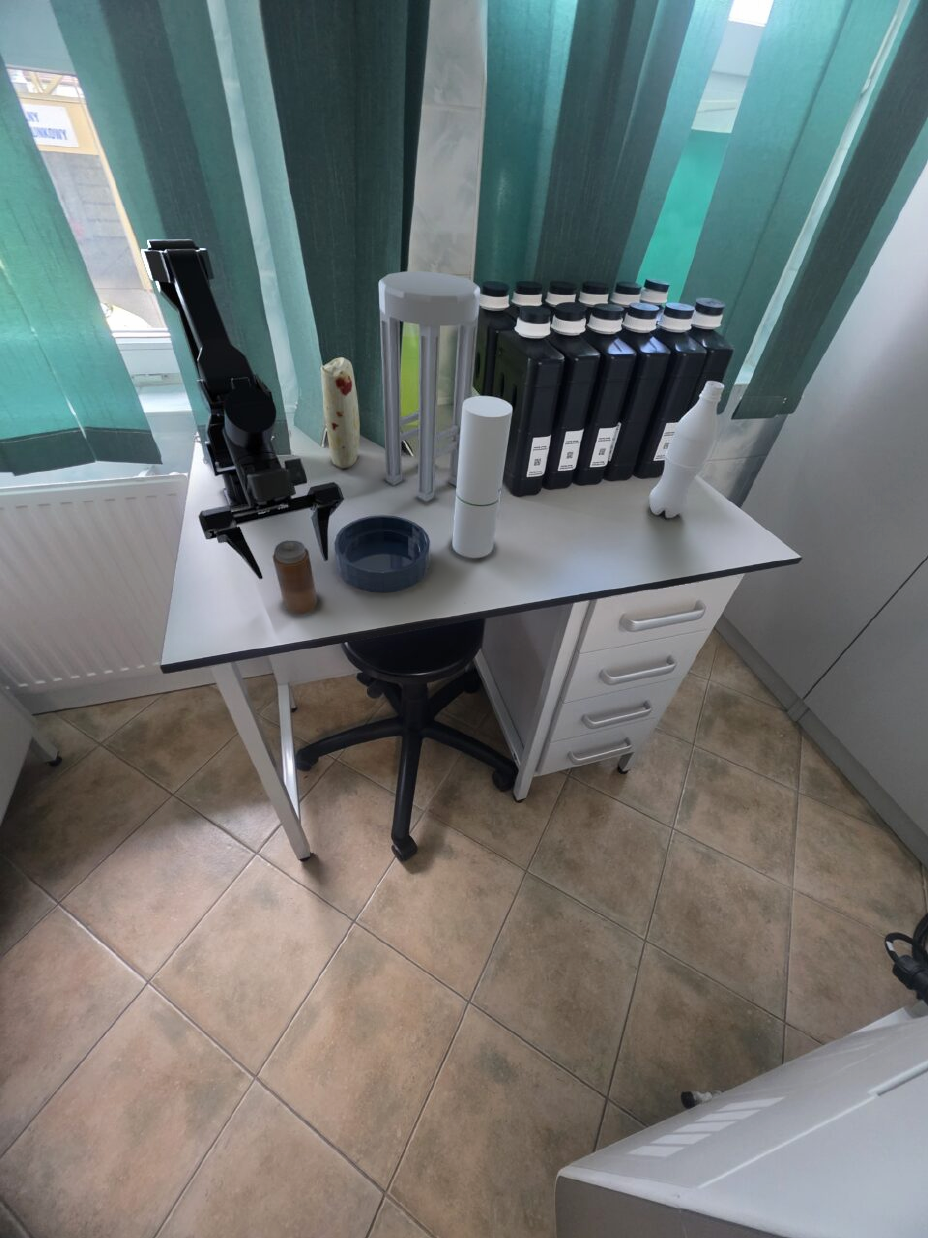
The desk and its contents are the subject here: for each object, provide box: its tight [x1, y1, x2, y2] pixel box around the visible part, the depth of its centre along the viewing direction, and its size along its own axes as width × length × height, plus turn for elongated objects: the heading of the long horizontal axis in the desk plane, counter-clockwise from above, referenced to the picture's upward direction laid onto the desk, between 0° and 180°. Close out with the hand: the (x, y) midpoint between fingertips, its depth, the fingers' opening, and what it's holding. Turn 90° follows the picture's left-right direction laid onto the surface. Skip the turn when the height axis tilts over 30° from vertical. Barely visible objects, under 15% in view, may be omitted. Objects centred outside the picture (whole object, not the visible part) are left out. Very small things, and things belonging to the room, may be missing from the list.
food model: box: [319, 356, 361, 469], centre depth 100 cm, size 10×7×20 cm
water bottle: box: [648, 380, 725, 519], centre depth 94 cm, size 7×7×25 cm
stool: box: [378, 270, 481, 502], centre depth 92 cm, size 16×16×35 cm
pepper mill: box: [272, 539, 318, 614], centre depth 72 cm, size 5×5×12 cm
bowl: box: [333, 514, 431, 593], centre depth 83 cm, size 15×15×4 cm
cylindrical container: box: [452, 395, 513, 559], centre depth 81 cm, size 7×7×25 cm
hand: (294, 569), depth 71 cm, fingers open, 9 cm apart
